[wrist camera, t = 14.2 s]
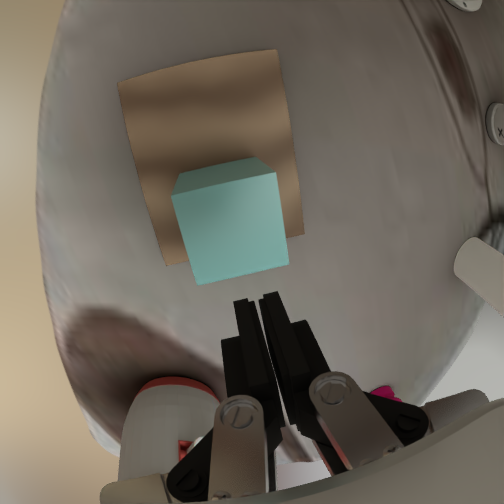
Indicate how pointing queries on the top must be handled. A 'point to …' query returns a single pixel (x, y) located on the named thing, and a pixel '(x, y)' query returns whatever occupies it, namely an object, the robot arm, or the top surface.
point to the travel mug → (495, 122)
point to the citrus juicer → (164, 425)
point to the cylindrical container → (482, 271)
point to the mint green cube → (230, 219)
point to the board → (209, 132)
